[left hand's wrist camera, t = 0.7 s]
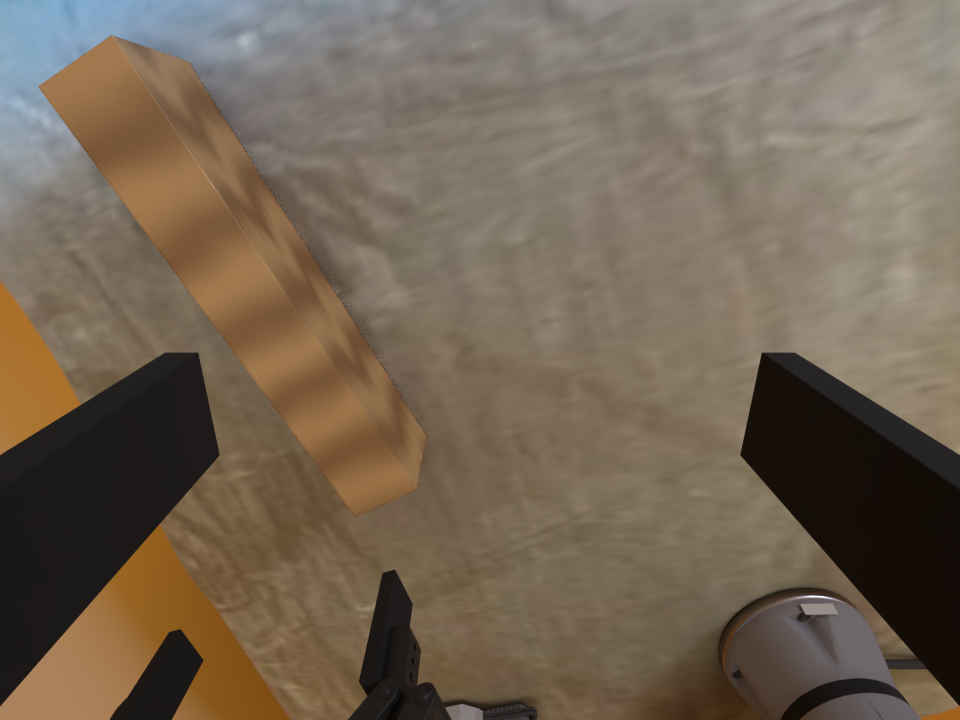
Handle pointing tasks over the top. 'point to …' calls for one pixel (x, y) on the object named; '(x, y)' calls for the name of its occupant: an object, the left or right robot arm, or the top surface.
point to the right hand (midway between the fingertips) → (290, 617)
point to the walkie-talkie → (492, 713)
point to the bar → (241, 262)
